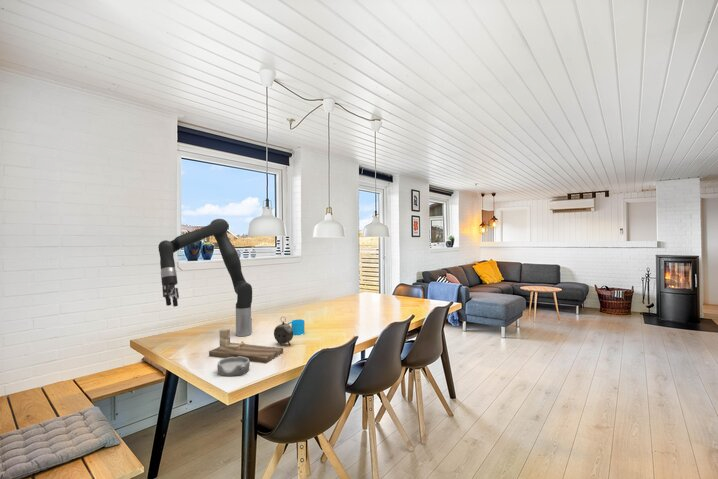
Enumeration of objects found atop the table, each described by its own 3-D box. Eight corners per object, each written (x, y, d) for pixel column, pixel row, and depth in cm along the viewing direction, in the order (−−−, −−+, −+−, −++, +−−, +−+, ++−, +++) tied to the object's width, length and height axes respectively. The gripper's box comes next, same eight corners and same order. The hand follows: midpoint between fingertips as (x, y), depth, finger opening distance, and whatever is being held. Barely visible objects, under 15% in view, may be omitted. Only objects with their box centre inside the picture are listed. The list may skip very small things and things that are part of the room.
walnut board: (229, 346, 195) (229, 342, 195) (283, 352, 184) (283, 348, 184) (208, 356, 179) (208, 351, 179) (266, 363, 169) (266, 358, 169)
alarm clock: (293, 345, 198) (293, 316, 198) (288, 347, 193) (287, 318, 193) (278, 342, 203) (278, 314, 203) (272, 345, 198) (272, 316, 198)
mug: (305, 332, 226) (305, 319, 226) (302, 335, 218) (302, 322, 218) (287, 331, 227) (287, 319, 227) (284, 335, 219) (284, 322, 219)
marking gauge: (232, 343, 192) (232, 325, 192) (247, 345, 189) (247, 327, 189) (219, 349, 183) (219, 330, 183) (235, 351, 180) (235, 331, 180)
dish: (249, 375, 154) (249, 364, 154) (215, 379, 151) (215, 367, 151) (249, 364, 168) (249, 353, 168) (219, 367, 164) (219, 356, 164)
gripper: (170, 273, 184) (174, 303, 181) (181, 276, 198) (184, 305, 195) (155, 276, 183) (158, 306, 180) (167, 279, 197) (170, 308, 194)
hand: (172, 305), depth 187 cm, fingers open, 8 cm apart
